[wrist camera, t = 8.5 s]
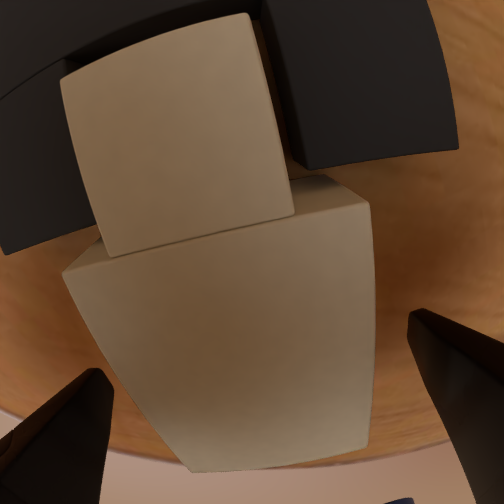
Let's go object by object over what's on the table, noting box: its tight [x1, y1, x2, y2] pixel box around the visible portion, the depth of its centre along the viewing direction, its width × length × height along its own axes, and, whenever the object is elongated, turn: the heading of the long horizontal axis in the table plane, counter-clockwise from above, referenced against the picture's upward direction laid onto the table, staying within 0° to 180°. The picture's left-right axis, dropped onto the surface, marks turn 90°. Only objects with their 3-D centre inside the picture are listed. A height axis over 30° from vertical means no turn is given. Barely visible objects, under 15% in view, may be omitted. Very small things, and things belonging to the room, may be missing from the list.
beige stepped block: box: [60, 13, 376, 473], centre depth 7 cm, size 12×6×3 cm, turn 13°
